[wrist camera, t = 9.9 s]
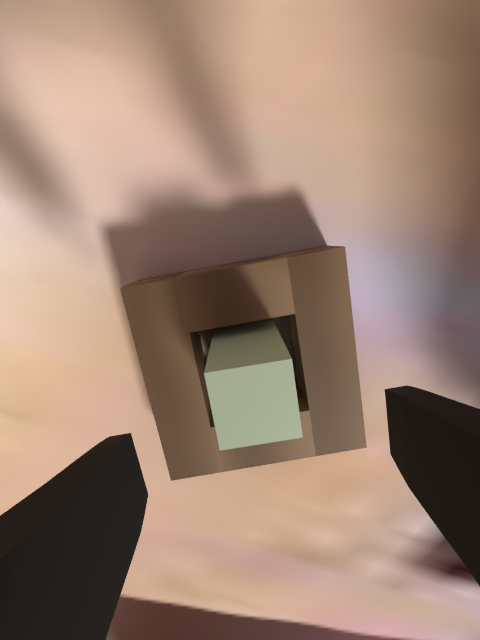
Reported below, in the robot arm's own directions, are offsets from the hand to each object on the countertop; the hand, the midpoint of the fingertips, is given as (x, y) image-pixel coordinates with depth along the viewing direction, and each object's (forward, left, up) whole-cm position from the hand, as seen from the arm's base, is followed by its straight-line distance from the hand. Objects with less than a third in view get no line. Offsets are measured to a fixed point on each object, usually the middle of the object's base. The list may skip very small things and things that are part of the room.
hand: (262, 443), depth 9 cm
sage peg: (0, 0, -8) cm, 8 cm away
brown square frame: (0, 0, -8) cm, 8 cm away
